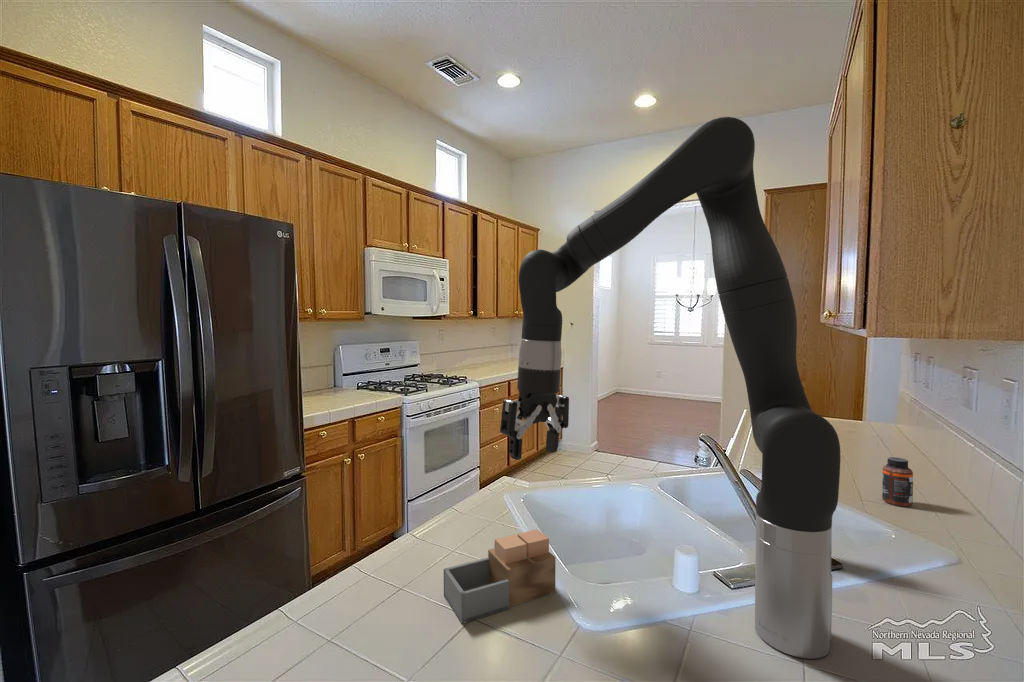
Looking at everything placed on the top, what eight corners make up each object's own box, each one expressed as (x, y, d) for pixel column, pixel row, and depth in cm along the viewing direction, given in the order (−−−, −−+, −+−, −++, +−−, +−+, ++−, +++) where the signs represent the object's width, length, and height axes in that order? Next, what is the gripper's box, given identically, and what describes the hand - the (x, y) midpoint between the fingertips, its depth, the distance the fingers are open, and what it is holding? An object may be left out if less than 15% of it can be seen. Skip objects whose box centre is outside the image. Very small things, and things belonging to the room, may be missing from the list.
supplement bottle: (919, 507, 113) (920, 462, 112) (894, 507, 113) (895, 462, 113) (899, 498, 119) (900, 455, 118) (876, 498, 119) (876, 455, 118)
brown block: (533, 571, 83) (533, 538, 83) (555, 592, 76) (555, 557, 76) (488, 583, 79) (488, 549, 79) (507, 607, 72) (507, 570, 72)
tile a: (537, 543, 81) (537, 529, 81) (548, 552, 78) (548, 538, 78) (517, 548, 79) (517, 533, 79) (528, 558, 76) (528, 543, 76)
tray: (487, 583, 79) (487, 557, 79) (509, 609, 72) (509, 581, 72) (443, 595, 75) (443, 568, 75) (461, 624, 68) (461, 594, 68)
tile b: (515, 548, 79) (515, 534, 79) (526, 558, 76) (526, 543, 76) (494, 553, 77) (494, 539, 77) (505, 564, 74) (505, 549, 74)
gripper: (522, 369, 73) (516, 468, 74) (582, 367, 82) (576, 455, 83) (494, 363, 79) (489, 455, 80) (553, 362, 88) (548, 444, 89)
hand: (534, 455), depth 81 cm, fingers open, 8 cm apart
